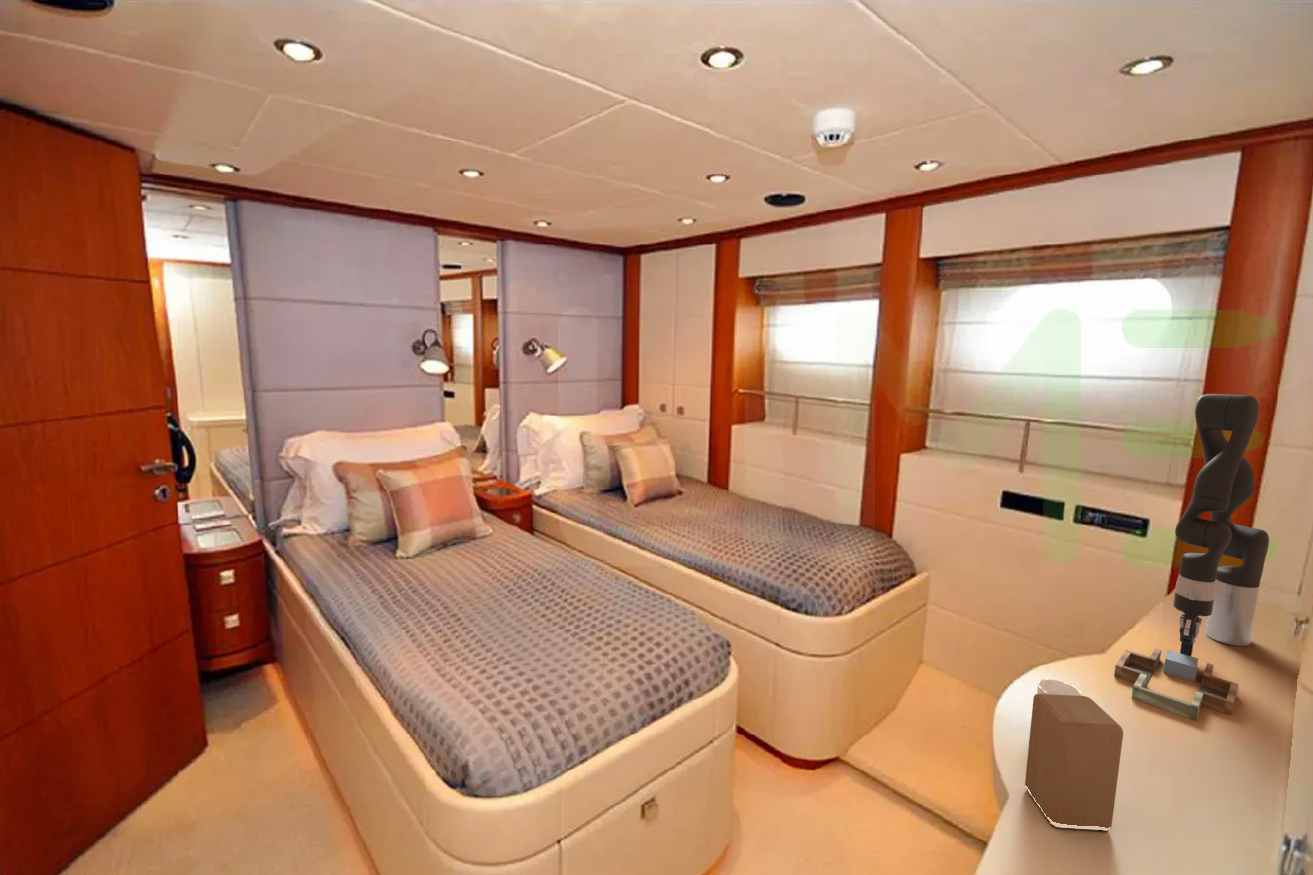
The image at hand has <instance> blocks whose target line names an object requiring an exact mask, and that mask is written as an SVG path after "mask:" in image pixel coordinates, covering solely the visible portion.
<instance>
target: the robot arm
mask: <svg viewBox="0 0 1313 875" xmlns="http://www.w3.org/2000/svg"><path fill="white" fill-rule="evenodd" d="M1194 409H1195V410H1194V417H1195V423H1196V427H1197V432H1198V435H1199V438H1200V443H1201V446H1202V451H1203V458H1204V466H1202V468H1201V469H1200V471H1199V472H1198V473H1197V475H1196V477H1195V479H1194V480H1195V481H1194V484H1193V490H1192V494H1191V499H1190V501H1189V504H1188V506H1187V508H1186V509H1185V511H1184V512H1183V515H1182V516H1181V518H1180V519H1179V521H1178V523H1177V524H1176V527H1175V529H1174V530H1175V531H1174V534H1175V537H1176V538H1177V539H1178V541H1180V542H1181V543H1184V544H1188V545H1191V546H1195V547H1196V546H1197V547H1201V548H1206V549H1207V552H1205V553H1203V552H1202V553H1198V552H1187V553H1184V554H1182V556H1181V558H1180V564H1179V571H1178V577H1177V579H1176V584H1175V592H1174V598H1173V608H1175V609H1176V610H1178V611H1180V612H1181V616H1179V621H1178V622H1179V624H1180V627H1179V642H1180V643H1181V644H1180V649H1179V650H1180V652H1179V653H1180V654H1184V655H1187V656H1191V657H1192V655H1193V651H1194V650H1193V648H1194V644H1195V642H1196V639H1197V637H1198V635H1199V632H1200V627H1201V624H1202V623H1203V618H1201V617H1207V621H1206V626H1205V635H1206V636H1207V637H1208V638H1210V639H1212V640H1214V641H1217V642H1220V643H1223V644H1227V645H1232V646H1236V647H1237V646H1238V647H1248V646H1251V641H1252V635H1253V634H1252V633H1253V629H1254V624H1255V623H1254V622H1255V616H1256V610H1257V604H1258V599H1259V598H1258V597H1259V591H1260V584H1261V579H1262V576H1263V571H1264V566H1265V563H1266V558H1267V553H1268V549H1269V546H1270V545H1269V544H1270V538H1269V533H1268V532H1267V531H1265V530H1263V529H1260V528H1256V527H1250V526H1246V525H1240V524H1236V523H1233V522H1232V515H1233V514H1234V513H1235V511H1236V510H1238V509H1239V508H1240V507H1242V505H1244V504H1245V503H1246V502H1247V501H1249V499H1251V497H1252V496H1253V495H1254V493H1255V490H1256V488H1255V487H1256V486H1255V476H1254V475H1255V474H1254V469H1253V467H1252V465H1251V464H1250V462H1249V461H1248V460H1247V459H1246V458H1245V457H1244V455H1245V453H1246V449H1247V448H1248V445H1249V443H1250V440H1251V438H1252V435H1253V433H1254V430H1255V428H1256V424H1257V421H1258V418H1259V413H1260V406H1259V402H1258V400H1257V399H1256V397H1255V396H1253V395H1246V394H1231V393H1230V394H1227V393H1226V394H1225V393H1205V394H1202V395H1201V396H1199V397H1198V399H1197V400H1196V403H1195V407H1194ZM1223 431H1227V432H1228V431H1229V432H1231V435H1230V436H1229V437H1230V438H1229V440H1227V438H1226V437H1225V435H1224V432H1223ZM1204 513H1205V514H1206V513H1210V519H1209V520H1208V519H1203V518H1200V516H1202V515H1203V514H1204ZM1222 556H1227V557H1231V558H1236V559H1240V560H1243V563H1242V564H1241V565H1222V566H1219V564H1220V561H1221V558H1222Z"/></svg>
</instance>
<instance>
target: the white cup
mask: <svg viewBox="0 0 1313 875" xmlns="http://www.w3.org/2000/svg"><path fill="white" fill-rule="evenodd" d="M1036 690H1037V692H1036V694H1055V695H1075V696H1083V693H1081V690H1079V689H1078V688H1077V687H1075V686H1073V685H1072V684H1070V683H1067V682H1064V681H1061V680H1058V679H1052V678H1045V679H1044V678H1043V679H1041V680H1038V682H1037V689H1036Z"/></svg>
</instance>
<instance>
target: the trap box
mask: <svg viewBox="0 0 1313 875" xmlns="http://www.w3.org/2000/svg"><path fill="white" fill-rule="evenodd" d="M1161 655H1162V649H1161V648H1158V647H1155V648H1154V650H1153V651H1152V653H1151V654H1150V656H1147V655H1144V654H1141V653H1138V652H1134V651H1131V650H1128V649H1125V650H1124V652H1123V653H1122V655H1121V656H1120V658H1119V659H1118V661H1117V662H1116V664H1115V667H1114V674H1113V676H1114V677H1116V678H1119V679H1122V680H1125V681H1128V682H1130V683H1133V686H1132V692H1131V698H1132V699H1133V700H1136V701H1140V702H1143V703H1145V704H1148V705H1149V706H1153V707H1156V708H1159V709H1162V710H1164V711H1168V712H1171V713H1172V714H1173V713H1174V714H1176V715H1179V716H1182V717H1185V718H1188V719H1190V720H1193V721H1197V718H1198V716H1199V713H1200V711H1201V707H1205V708H1209V709H1211V710H1214V711H1218V712H1220V713H1222V714H1223V713H1224V714H1226V715H1229V716H1232V714H1233V710H1234V707H1235V705H1236V704H1235V703H1236V699H1237V695H1238V690H1239V683H1237V682H1234V681H1231V680H1227V679H1223V678H1220V677H1217V676H1214V674H1213V673H1214V668H1215V666H1214V664H1213V663H1209V662H1208V663H1206V665H1205V667H1204V669H1203V673H1202V677H1201V682H1200V683H1201V684H1200V687H1199V689H1197V688H1196V691H1195V693H1194V696H1193V699H1192V701H1191V703H1190V702H1188V701H1185V700H1182V699H1178V698H1175V697H1172V696H1170V695H1167V694H1164V693H1160V692H1157V691H1155V690H1151V689H1148V688H1146V686H1147V684H1148V682H1149V680H1150V679H1151V677H1152V676H1153V674H1154V672H1155V670H1156V668H1157V666H1158V664H1159V662H1160V661H1161Z"/></svg>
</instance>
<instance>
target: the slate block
mask: <svg viewBox="0 0 1313 875" xmlns="http://www.w3.org/2000/svg"><path fill="white" fill-rule="evenodd" d="M1198 663H1199V658H1198V657H1194V656H1192V655H1191V656H1187V655H1184V654H1180V652H1175V651H1171V650H1168V649H1167V650H1166V655H1165V659H1164V668H1163V674H1167V675H1171V676H1174V677H1178V678H1180V679H1184V680H1188V681H1191V682H1194V683H1195V682H1196V679H1197V678H1196V677H1197V672H1198Z"/></svg>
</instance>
